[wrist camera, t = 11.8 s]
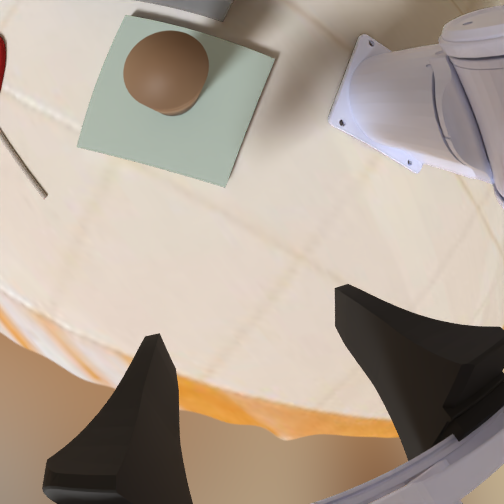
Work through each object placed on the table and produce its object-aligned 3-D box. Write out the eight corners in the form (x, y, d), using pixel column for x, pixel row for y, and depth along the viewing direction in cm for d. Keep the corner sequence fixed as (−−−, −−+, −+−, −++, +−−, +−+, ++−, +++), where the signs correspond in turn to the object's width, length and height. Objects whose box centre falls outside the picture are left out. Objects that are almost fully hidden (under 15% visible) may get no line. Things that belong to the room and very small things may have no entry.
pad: (271, 61, 17) (275, 59, 16) (223, 185, 20) (225, 187, 19) (127, 18, 14) (125, 15, 13) (80, 146, 16) (76, 147, 16)
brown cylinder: (206, 78, 16) (222, 45, 9) (188, 122, 17) (189, 119, 10) (160, 63, 15) (144, 21, 8) (141, 108, 16) (110, 96, 9)
